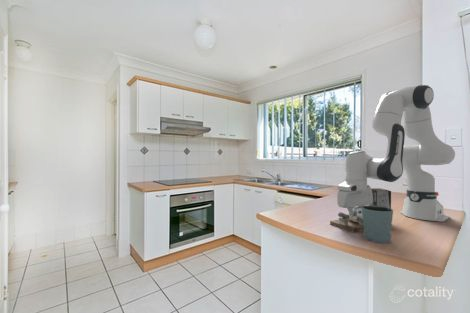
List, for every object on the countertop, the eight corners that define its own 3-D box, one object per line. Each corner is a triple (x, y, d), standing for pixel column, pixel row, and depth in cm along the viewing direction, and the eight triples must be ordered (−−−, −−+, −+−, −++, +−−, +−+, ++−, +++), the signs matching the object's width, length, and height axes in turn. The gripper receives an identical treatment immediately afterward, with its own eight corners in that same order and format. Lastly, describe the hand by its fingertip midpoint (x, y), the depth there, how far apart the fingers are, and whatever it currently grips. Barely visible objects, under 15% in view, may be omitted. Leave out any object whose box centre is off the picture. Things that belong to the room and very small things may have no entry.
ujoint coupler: (354, 218, 103) (354, 205, 103) (363, 221, 99) (363, 207, 99) (348, 219, 101) (348, 206, 101) (357, 222, 97) (357, 208, 97)
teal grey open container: (399, 242, 80) (399, 210, 80) (378, 245, 77) (378, 212, 77) (374, 233, 90) (375, 204, 90) (355, 235, 87) (355, 205, 87)
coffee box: (391, 225, 101) (391, 190, 101) (376, 224, 102) (376, 190, 102) (382, 219, 110) (382, 188, 110) (368, 219, 111) (368, 187, 111)
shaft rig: (358, 219, 110) (358, 205, 110) (382, 226, 99) (382, 211, 99) (328, 224, 101) (328, 209, 101) (351, 232, 90) (351, 215, 90)
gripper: (364, 184, 107) (364, 211, 107) (334, 186, 99) (334, 216, 99) (377, 185, 102) (376, 214, 102) (347, 187, 93) (346, 219, 93)
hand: (355, 215), depth 100 cm, fingers closed on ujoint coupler, 4 cm apart
